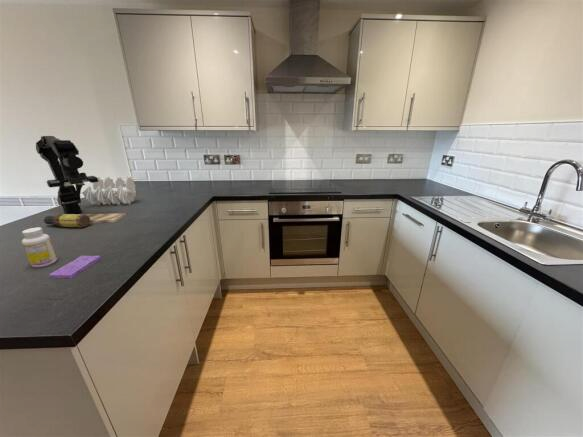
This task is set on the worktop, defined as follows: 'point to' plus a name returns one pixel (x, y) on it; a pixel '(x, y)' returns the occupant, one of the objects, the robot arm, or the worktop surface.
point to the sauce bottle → (68, 220)
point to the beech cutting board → (105, 217)
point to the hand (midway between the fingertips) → (78, 197)
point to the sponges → (75, 267)
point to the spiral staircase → (111, 191)
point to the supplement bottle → (38, 247)
